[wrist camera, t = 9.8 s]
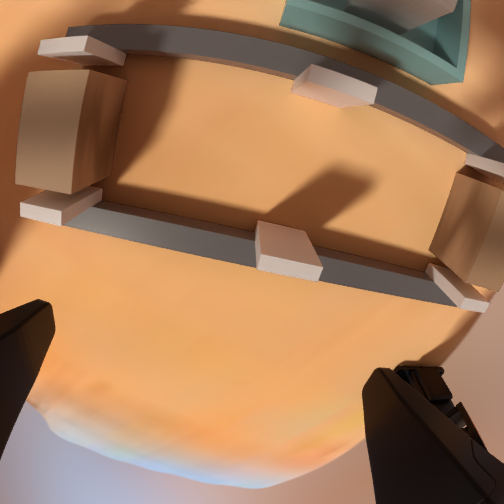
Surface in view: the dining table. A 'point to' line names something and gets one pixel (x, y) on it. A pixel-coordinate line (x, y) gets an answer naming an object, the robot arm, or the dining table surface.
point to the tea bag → (399, 12)
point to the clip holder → (266, 234)
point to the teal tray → (391, 38)
